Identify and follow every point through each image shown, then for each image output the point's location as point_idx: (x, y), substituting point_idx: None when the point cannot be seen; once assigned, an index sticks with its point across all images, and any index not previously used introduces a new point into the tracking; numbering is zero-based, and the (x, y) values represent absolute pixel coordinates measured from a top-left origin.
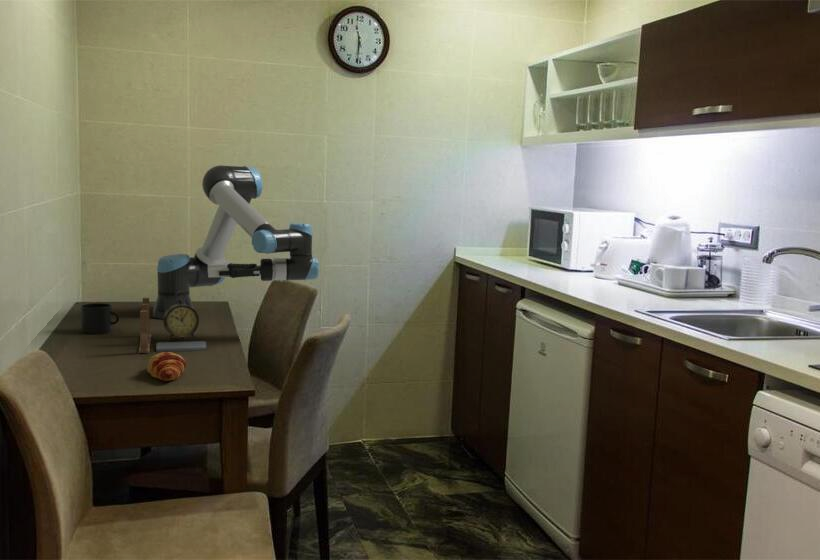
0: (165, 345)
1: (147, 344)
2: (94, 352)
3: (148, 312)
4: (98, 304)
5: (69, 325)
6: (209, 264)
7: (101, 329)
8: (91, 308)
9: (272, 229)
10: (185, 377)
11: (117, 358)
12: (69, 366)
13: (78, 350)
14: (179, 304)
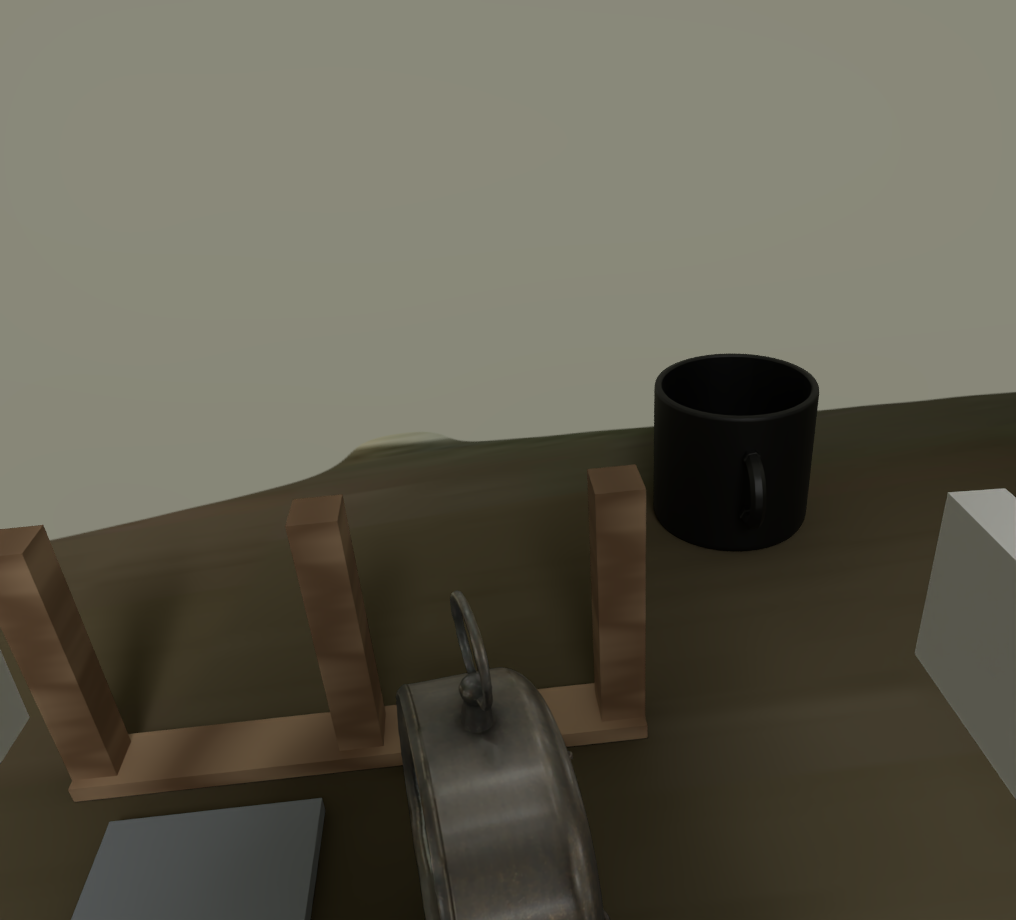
0: (201, 866)
1: (79, 749)
2: (235, 581)
3: (597, 586)
4: (808, 384)
5: (842, 425)
6: (1013, 513)
7: (668, 513)
8: (655, 385)
9: None
10: None
11: None
12: None
13: None
14: (457, 714)
